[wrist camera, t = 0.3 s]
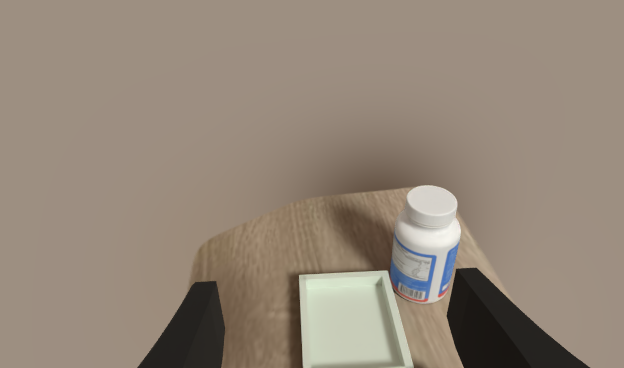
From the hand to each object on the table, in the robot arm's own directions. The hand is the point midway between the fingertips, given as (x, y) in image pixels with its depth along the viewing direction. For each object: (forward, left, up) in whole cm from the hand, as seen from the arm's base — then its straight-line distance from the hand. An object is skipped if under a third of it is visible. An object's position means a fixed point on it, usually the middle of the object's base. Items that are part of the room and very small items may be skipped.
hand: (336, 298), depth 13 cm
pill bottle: (+18, -10, -21) cm, 29 cm away
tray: (+13, -3, -20) cm, 24 cm away
